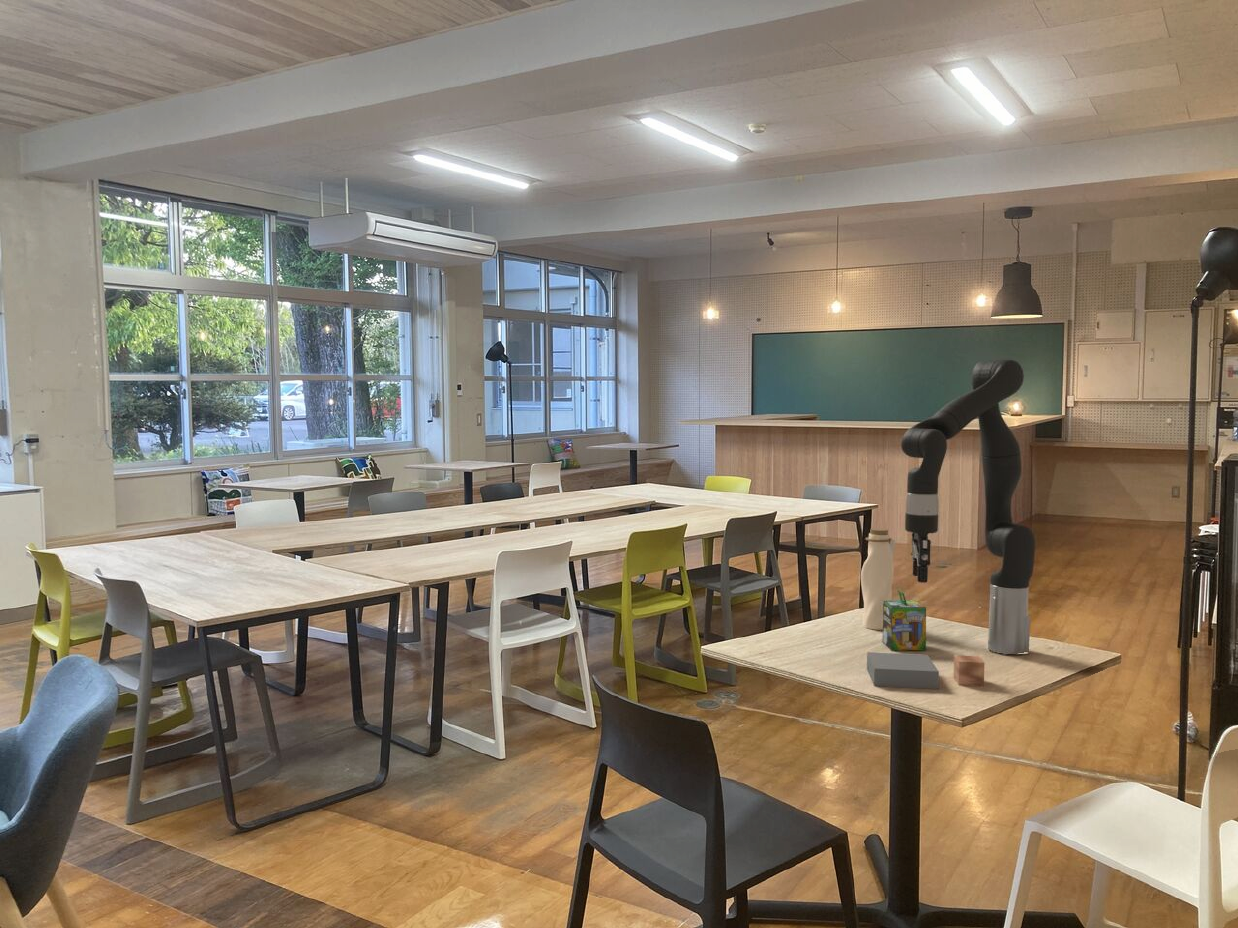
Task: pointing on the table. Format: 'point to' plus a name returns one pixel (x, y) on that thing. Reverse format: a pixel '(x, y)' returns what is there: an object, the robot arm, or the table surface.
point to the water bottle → (877, 577)
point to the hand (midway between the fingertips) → (919, 578)
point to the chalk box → (904, 624)
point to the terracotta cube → (969, 670)
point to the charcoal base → (902, 670)
